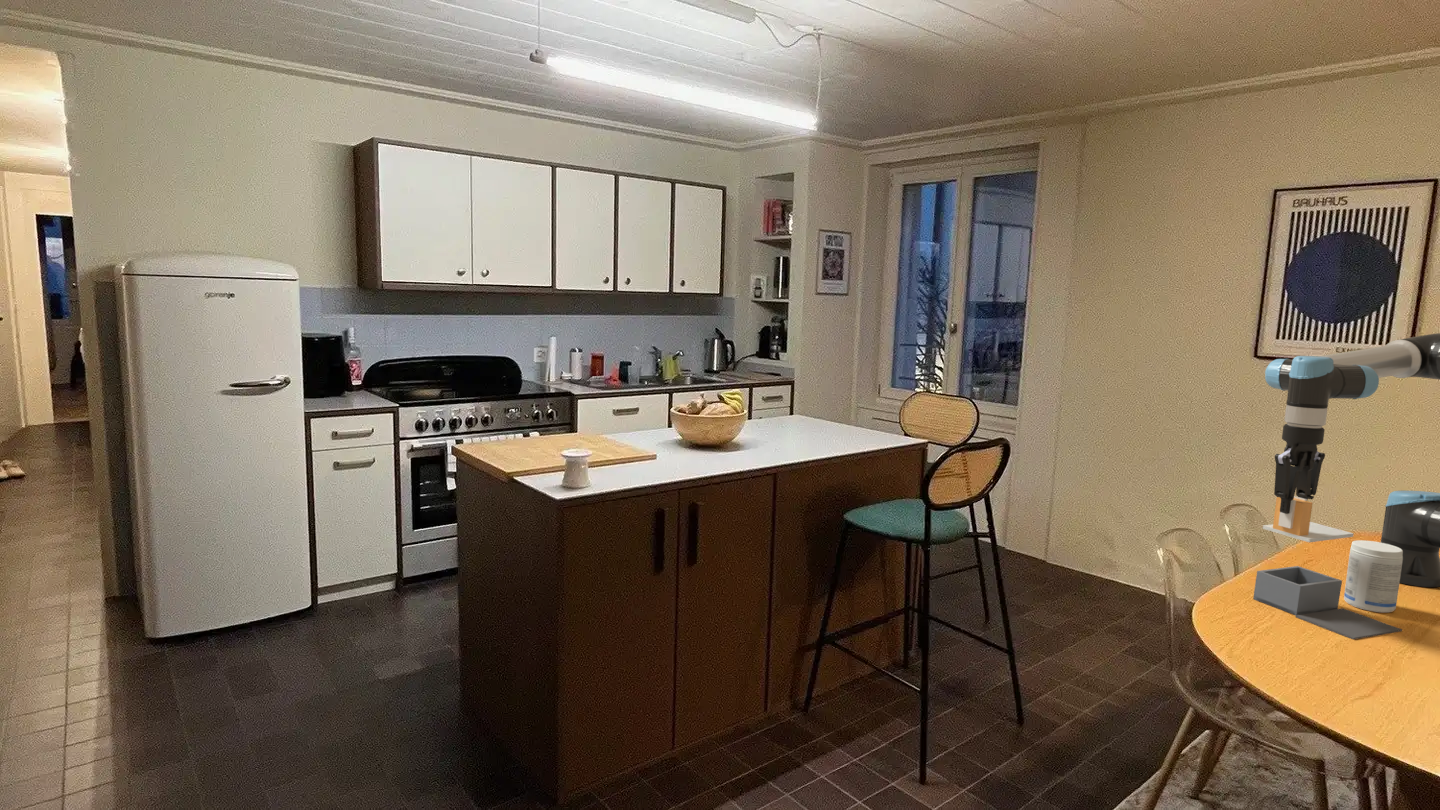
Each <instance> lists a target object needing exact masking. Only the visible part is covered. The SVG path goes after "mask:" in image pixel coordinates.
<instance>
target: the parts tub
mask: <svg viewBox="0 0 1440 810" xmlns="http://www.w3.org/2000/svg"><path fill="white" fill-rule="evenodd" d="M1255 576H1256V578H1255V584H1254V590H1253V597H1252V598H1253V600H1255V601H1256V602H1259V603H1262V604H1265V605H1267V606H1270V607H1272V608H1275V609H1277V610H1281V611H1282V612H1285V613H1288V614H1290V615H1293V616H1296V615H1302V614H1308V613H1315V612H1321V611H1328V610H1334V609H1339V602H1340V596H1341V590H1342V584H1343V580H1341V579H1339V578H1336V577H1332V576H1329V575H1328V574H1324V573H1320V572H1317V571H1314V570H1311V569H1308V568H1305V567H1302V566H1299V565H1294V566H1287V567H1280V568H1271V569H1261V570H1257V571H1256V575H1255Z"/></svg>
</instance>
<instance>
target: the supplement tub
mask: <svg viewBox="0 0 1440 810" xmlns="http://www.w3.org/2000/svg"><path fill="white" fill-rule="evenodd" d="M1380 542H1381V541H1380ZM1380 542H1379V541H1373V540H1362V539H1360V540H1353V541H1352V542H1351V547H1350V550H1349V556H1348V562H1347V563H1348V564H1347V571H1346V572H1347V573H1346V577H1345V578H1346V579H1345V586H1344V594H1343V599H1344V601H1345V602H1346V604H1348V605H1350V606H1352V607H1354V608H1357V609H1360V610H1364V611H1370V612H1373V613H1382V614H1383V613H1392V612H1394V611H1396V608H1397V603H1398V602H1397V601H1398V596H1399V588H1400V583H1399V582H1400V575H1401V569H1402V561H1403V556H1402V554H1403V550H1402V549H1400V548H1398V547H1396V546H1393V545H1389V544H1385V543H1380Z"/></svg>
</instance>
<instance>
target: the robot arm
mask: <svg viewBox="0 0 1440 810" xmlns="http://www.w3.org/2000/svg"><path fill="white" fill-rule="evenodd" d="M1264 374H1265V375H1264V376H1265V377H1264V379H1265V382H1266V383H1267V385H1268V386H1269V387H1270V388H1273V389H1277V390H1281V391H1282V392H1283V391H1284V392H1285V391H1287V399H1286V403H1285V404H1286V406H1285V413H1284V418H1283V419H1284V420H1283V421H1284V422H1285V424H1283V426H1282V432H1281V434H1282V435H1281V439H1282V440H1283V441H1284V442H1285V443H1286V446H1285V447H1284V448H1283V449H1284V451H1283V452H1282V453H1281V454H1279V453H1275V455H1274V461H1275V478H1274V489H1273V491H1274V493H1273V495H1274V496H1276V498H1277V497H1280V498H1281V505H1280V516H1279V524H1278V525H1279V526H1283V527H1286V528H1290V529H1292V528H1293V520H1294V512H1295V505H1296V500H1293V499H1294V498H1296V499H1300V500H1304V501H1308V500H1314V498H1315V496H1316V494H1317V490H1318V486H1319V480H1320V477H1321V475H1320V474H1321V469H1322V464H1323V462H1324V460H1325V457H1326V453H1325V452H1319V451H1318V446H1319V445H1322V444H1323V443H1324V437H1325V432H1326V431H1325V429H1324V426H1326V424H1327V423H1326V422H1327V417H1328V416H1327V415H1328V407H1329V400H1330V399H1341V400H1342V399H1343V400H1345V399H1351V400H1357V399H1365V398H1368V397H1370V396H1372V395H1374V394H1375V393H1376V391H1377V390H1378V389H1379V383H1380V378H1387V377H1394V378H1398V379H1405V378H1406V379H1407V378H1422V379H1423V378H1424V379H1430V380H1431V379H1433V380H1439V381H1440V332H1438V333H1437V332H1435V333H1431V334H1425V335H1417V336H1412V337H1407V338H1400V339H1396V340H1391V341H1389V342H1388V343H1387V344H1385V345H1383V346H1377V347H1371V348H1364V349H1357V350H1351V351H1345V352H1339V353H1338V352H1337V353H1331V354H1325V355H1319V356H1318V355H1317V356H1316V355H1297V356H1295V357H1294V358H1293V359H1291V358H1276V359H1274V360H1272V361H1270V362H1269V363H1268V365H1267V366H1266V368H1265V371H1264ZM1295 495H1296V496H1295ZM1387 497H1388V498H1387V501H1386V504H1385V511H1384V519H1383V524H1382V525H1383V526H1382V530H1381V531H1382V532H1381V536H1380V538H1381V539H1380V543H1385V544H1389V545H1393V546H1396V547H1398V548H1400V549H1402V550H1403V554H1402V556H1403V561H1402V569H1401V575H1400V582H1399V584H1402V585H1403V584H1404V585H1409V586H1415V587H1422V588H1423V587H1424V588H1440V492H1433V491H1422V490H1394V491H1392V492H1390V493H1389V494H1388V496H1387ZM1308 502H1309V501H1308Z"/></svg>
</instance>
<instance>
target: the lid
mask: <svg viewBox="0 0 1440 810" xmlns="http://www.w3.org/2000/svg"><path fill="white" fill-rule="evenodd" d="M1293 500H1296V505H1295V512H1294V520H1293V528H1292V529H1290V528H1286V527H1283V526H1279V525H1278V524H1279V516H1280V505H1281V498H1280V497H1277V496H1276V499H1275V508H1274V515H1273V523H1272V524H1271V523H1270V524H1263V525H1262V530H1266V531H1269V532H1273V533H1277V534H1279V535H1283V536H1286V537H1289V538H1293V539H1296V540H1298V541H1299V540H1300V541H1302V542H1306V543H1315V542H1323V541H1330V540H1338V539H1346V538H1354V533H1353V532H1351V531H1347V530H1342V529H1339V528H1335V527H1332V526H1328V525H1324V524H1321V523H1317V522H1313V521H1311V516H1312V509H1313V502H1312V501H1304V500H1300V499H1296V498H1294V499H1293Z"/></svg>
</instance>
